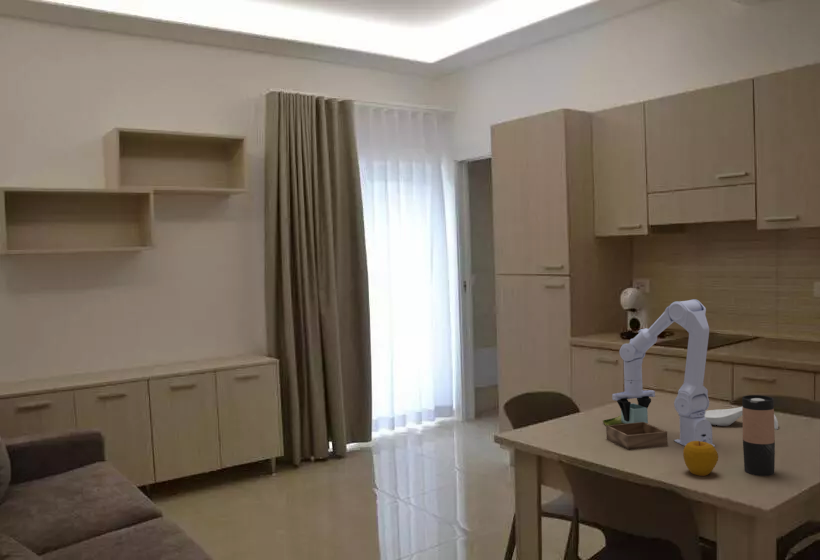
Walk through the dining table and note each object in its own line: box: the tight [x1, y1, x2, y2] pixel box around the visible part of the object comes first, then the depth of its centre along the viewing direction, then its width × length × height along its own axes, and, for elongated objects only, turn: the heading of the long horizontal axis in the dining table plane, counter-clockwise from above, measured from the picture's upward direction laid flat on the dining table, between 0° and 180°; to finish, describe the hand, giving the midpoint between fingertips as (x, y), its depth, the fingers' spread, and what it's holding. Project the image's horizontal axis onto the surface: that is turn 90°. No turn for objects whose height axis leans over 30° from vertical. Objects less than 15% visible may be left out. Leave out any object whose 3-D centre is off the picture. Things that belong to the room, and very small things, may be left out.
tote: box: [620, 402, 649, 424], centre depth 233 cm, size 5×8×6 cm, turn 13°
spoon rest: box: [705, 406, 779, 431], centre depth 234 cm, size 24×12×7 cm, turn 62°
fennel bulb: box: [602, 414, 624, 426], centre depth 240 cm, size 6×5×12 cm
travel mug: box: [741, 394, 776, 477], centre depth 186 cm, size 8×8×20 cm
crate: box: [605, 422, 668, 451], centre depth 219 cm, size 13×13×4 cm
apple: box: [682, 441, 719, 477], centre depth 187 cm, size 9×8×9 cm
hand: (634, 420), depth 233 cm, fingers closed on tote, 5 cm apart
